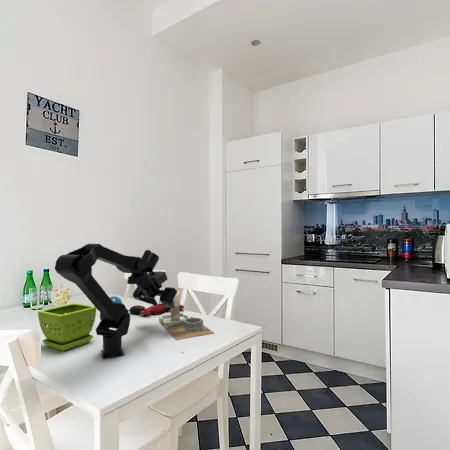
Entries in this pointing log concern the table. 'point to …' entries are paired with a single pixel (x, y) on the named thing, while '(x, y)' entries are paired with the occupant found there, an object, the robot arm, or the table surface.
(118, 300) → the ball
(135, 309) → the toy motorcycle
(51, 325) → the flower pot
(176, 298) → the dowel
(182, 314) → the stand
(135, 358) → the table surface
